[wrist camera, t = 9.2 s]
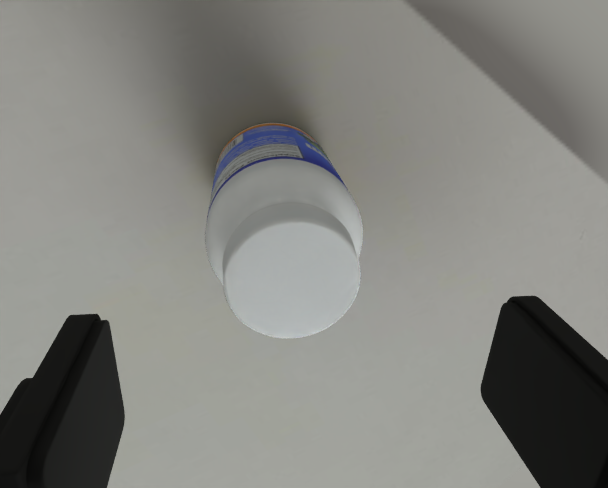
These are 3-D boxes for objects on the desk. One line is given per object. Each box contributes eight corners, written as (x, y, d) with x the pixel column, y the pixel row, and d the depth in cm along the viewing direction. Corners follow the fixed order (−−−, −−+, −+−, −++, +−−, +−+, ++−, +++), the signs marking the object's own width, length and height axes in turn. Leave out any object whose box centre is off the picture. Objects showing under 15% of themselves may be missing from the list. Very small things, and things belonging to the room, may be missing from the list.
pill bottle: (340, 209, 23) (405, 327, 14) (237, 244, 23) (240, 382, 14) (310, 102, 20) (365, 166, 12) (194, 141, 20) (165, 233, 12)
